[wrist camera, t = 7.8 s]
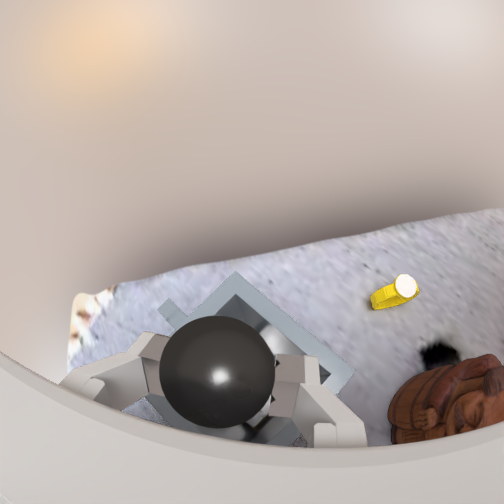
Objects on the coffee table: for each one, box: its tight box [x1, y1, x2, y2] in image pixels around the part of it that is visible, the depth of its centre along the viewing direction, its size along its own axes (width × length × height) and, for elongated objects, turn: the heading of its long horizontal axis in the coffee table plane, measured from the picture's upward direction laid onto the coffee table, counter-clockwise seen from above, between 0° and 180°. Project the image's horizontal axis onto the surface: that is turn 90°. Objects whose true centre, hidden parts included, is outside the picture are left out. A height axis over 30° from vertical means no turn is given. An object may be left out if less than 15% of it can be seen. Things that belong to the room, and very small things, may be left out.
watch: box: [370, 274, 419, 310], centre depth 30 cm, size 6×3×6 cm, turn 97°
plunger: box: [159, 316, 275, 429], centre depth 17 cm, size 6×6×21 cm
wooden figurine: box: [388, 354, 504, 445], centre depth 17 cm, size 12×6×18 cm, turn 6°
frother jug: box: [145, 271, 356, 447], centre depth 22 cm, size 12×14×17 cm
